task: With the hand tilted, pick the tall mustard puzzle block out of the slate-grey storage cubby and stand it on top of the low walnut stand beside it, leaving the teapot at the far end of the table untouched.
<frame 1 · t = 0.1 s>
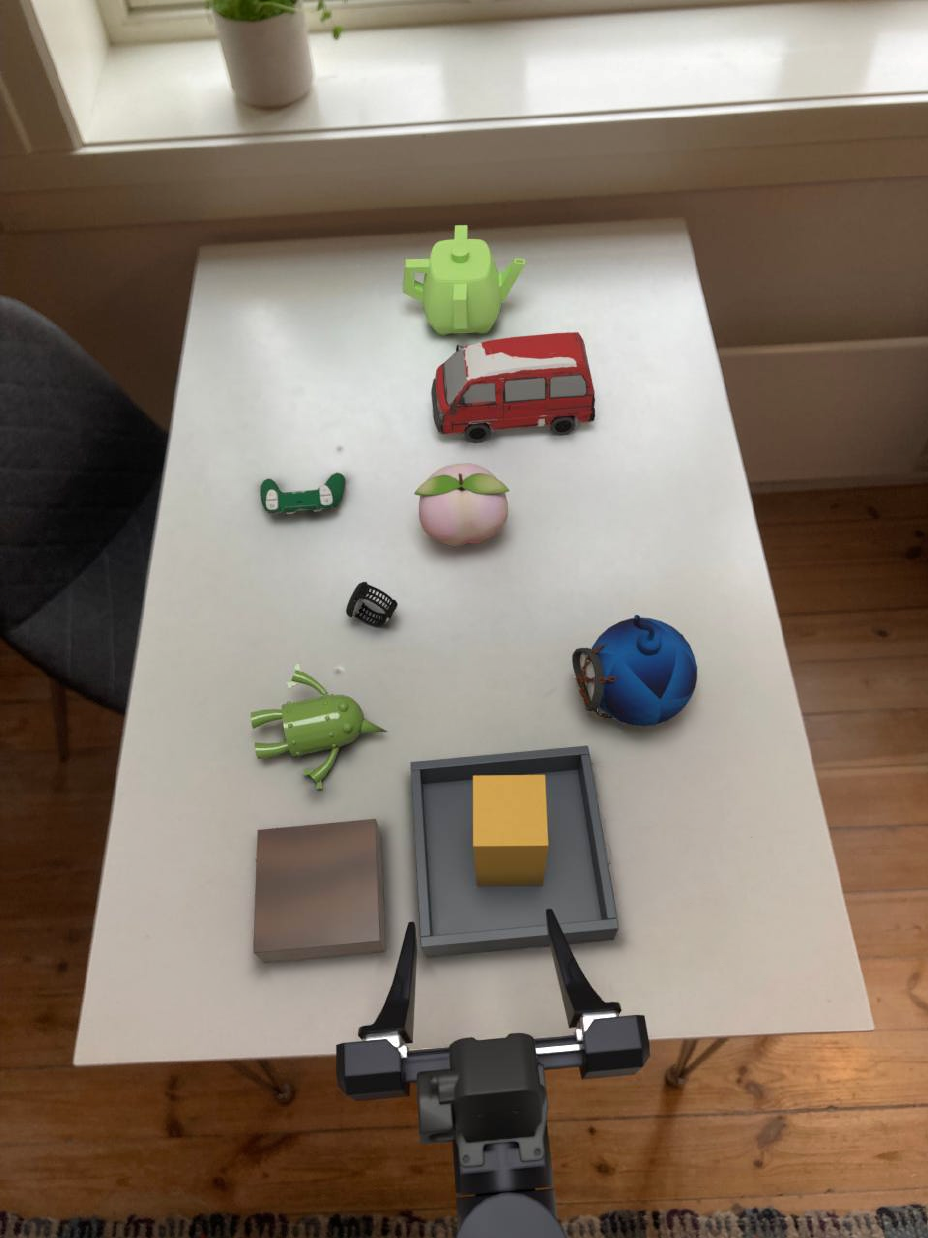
hand: (480, 916, 61), 16 cm above the table, tool horizontal, fingers open, 9 cm apart
decorative fruit: (463, 534, 97), on the table
toy car: (512, 418, 106), on the table
gaming controller: (305, 504, 100), on the table
bomb: (628, 698, 86), on the table
character figure: (324, 736, 85), on the table
cubby: (508, 855, 79), on the table
walnut stand: (324, 896, 77), on the table
puzzle block: (508, 853, 78), point 1 cm above the table, touching cubby
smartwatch: (373, 622, 92), on the table
teapot: (464, 317, 115), on the table
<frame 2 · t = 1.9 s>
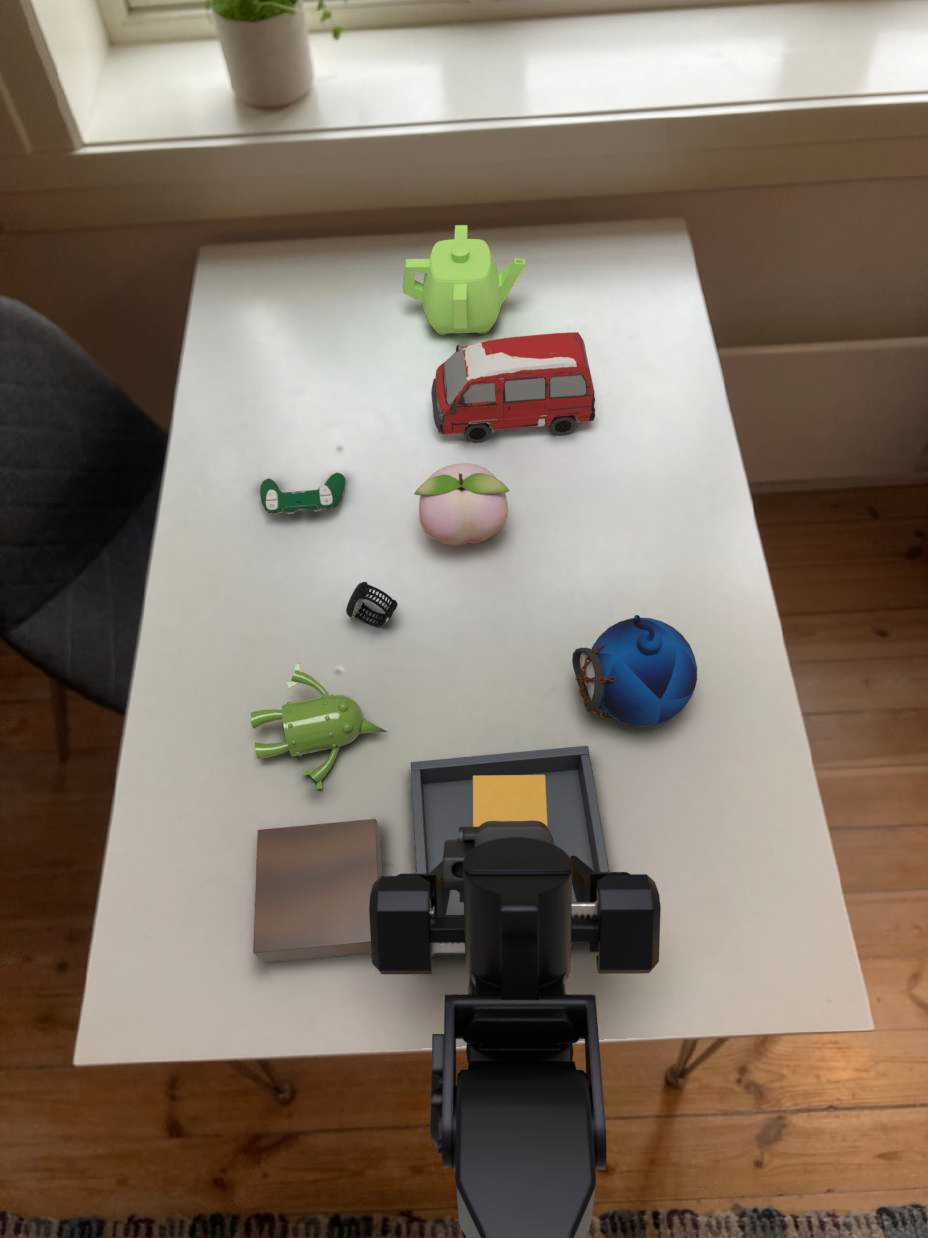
hand: (511, 861, 68), 10 cm above the table, tool tilted 45°, fingers open, 9 cm apart
nothing on the table moved.
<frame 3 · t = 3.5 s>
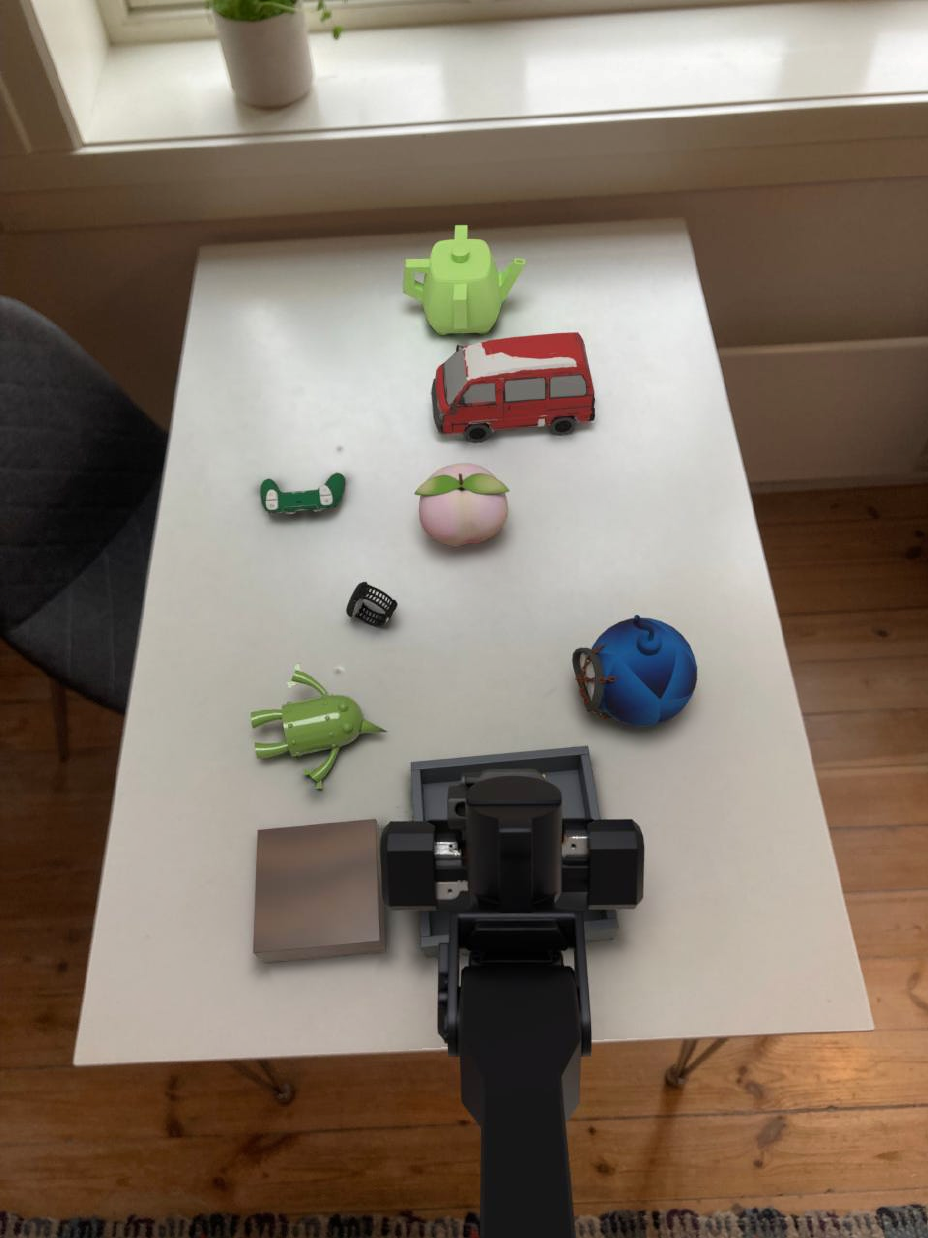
hand: (509, 814, 74), 7 cm above the table, tool tilted 45°, fingers closed on puzzle block, 5 cm apart
puzzle block: (508, 853, 78), point 1 cm above the table, touching cubby, gripper
everything else where it was.
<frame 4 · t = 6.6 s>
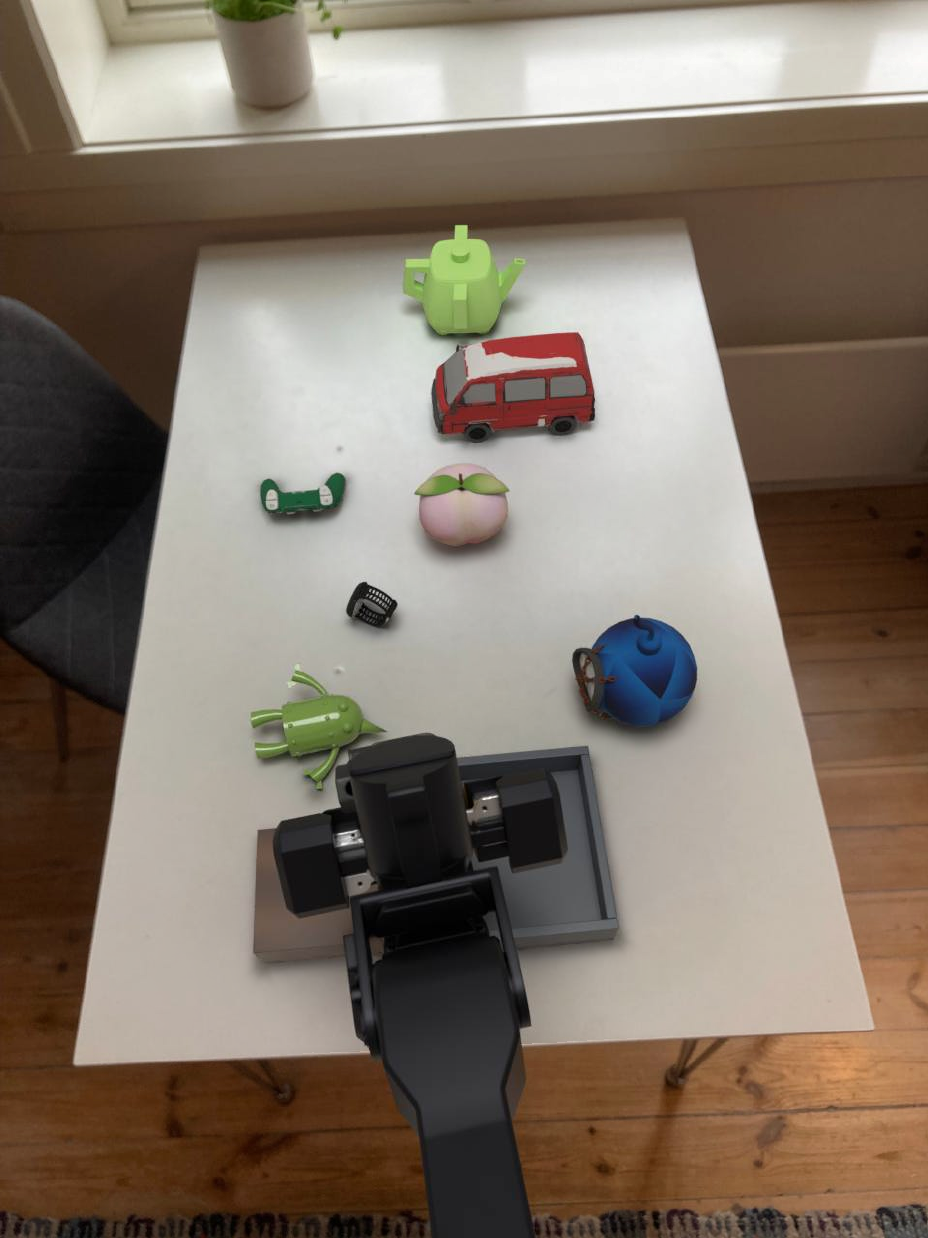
hand: (414, 792, 68), 13 cm above the table, tool tilted 45°, fingers closed on puzzle block, 5 cm apart
puzzle block: (424, 835, 72), point 7 cm above the table, touching gripper
everything else where it was.
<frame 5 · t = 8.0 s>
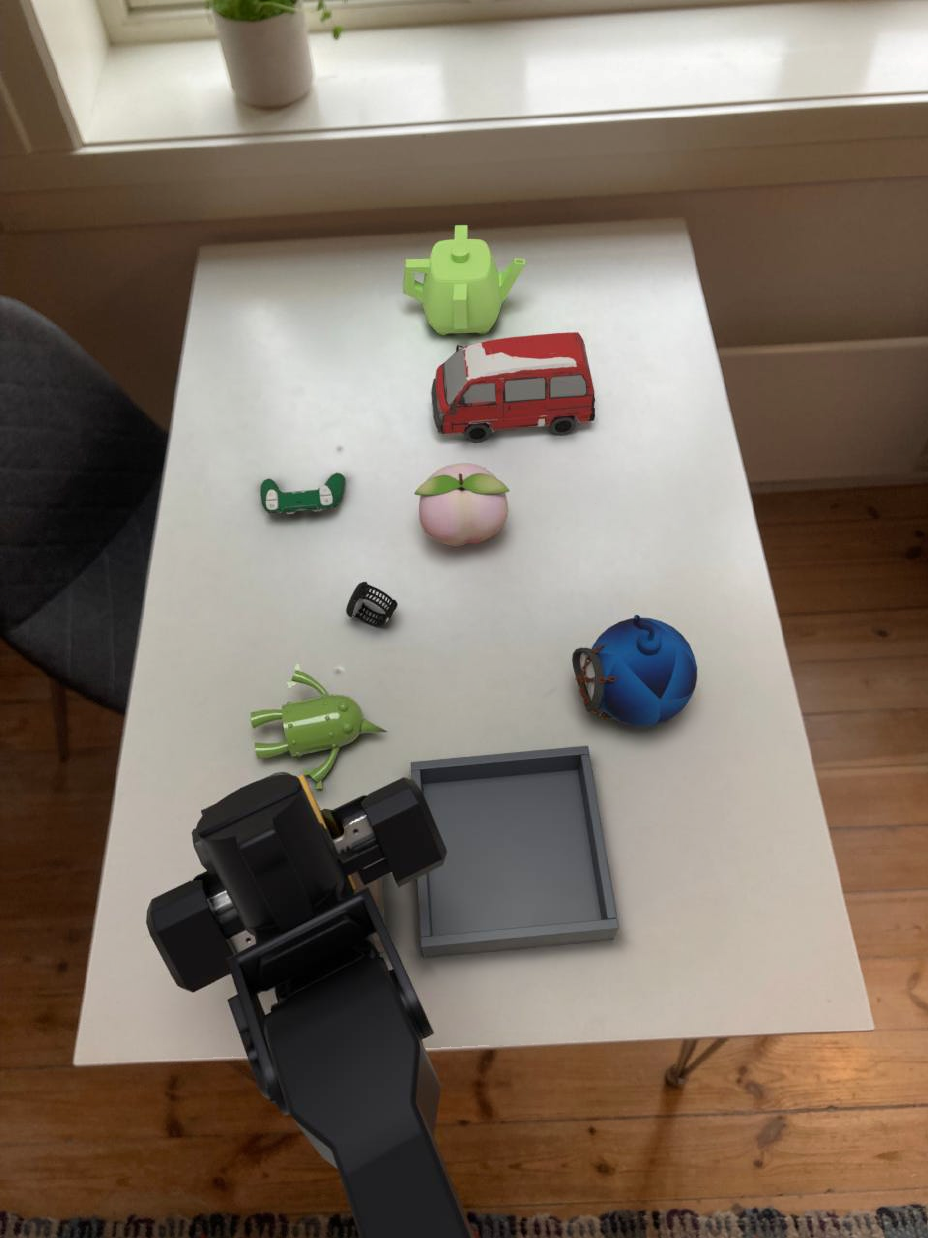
hand: (288, 833, 67), 13 cm above the table, tool tilted 45°, fingers closed on puzzle block, 5 cm apart
puzzle block: (309, 872, 71), point 7 cm above the table, touching gripper
everything else where it was.
when the fingers open (10 cm above the table, at t = 9.5 s): puzzle block stays where it is, resting on walnut stand.
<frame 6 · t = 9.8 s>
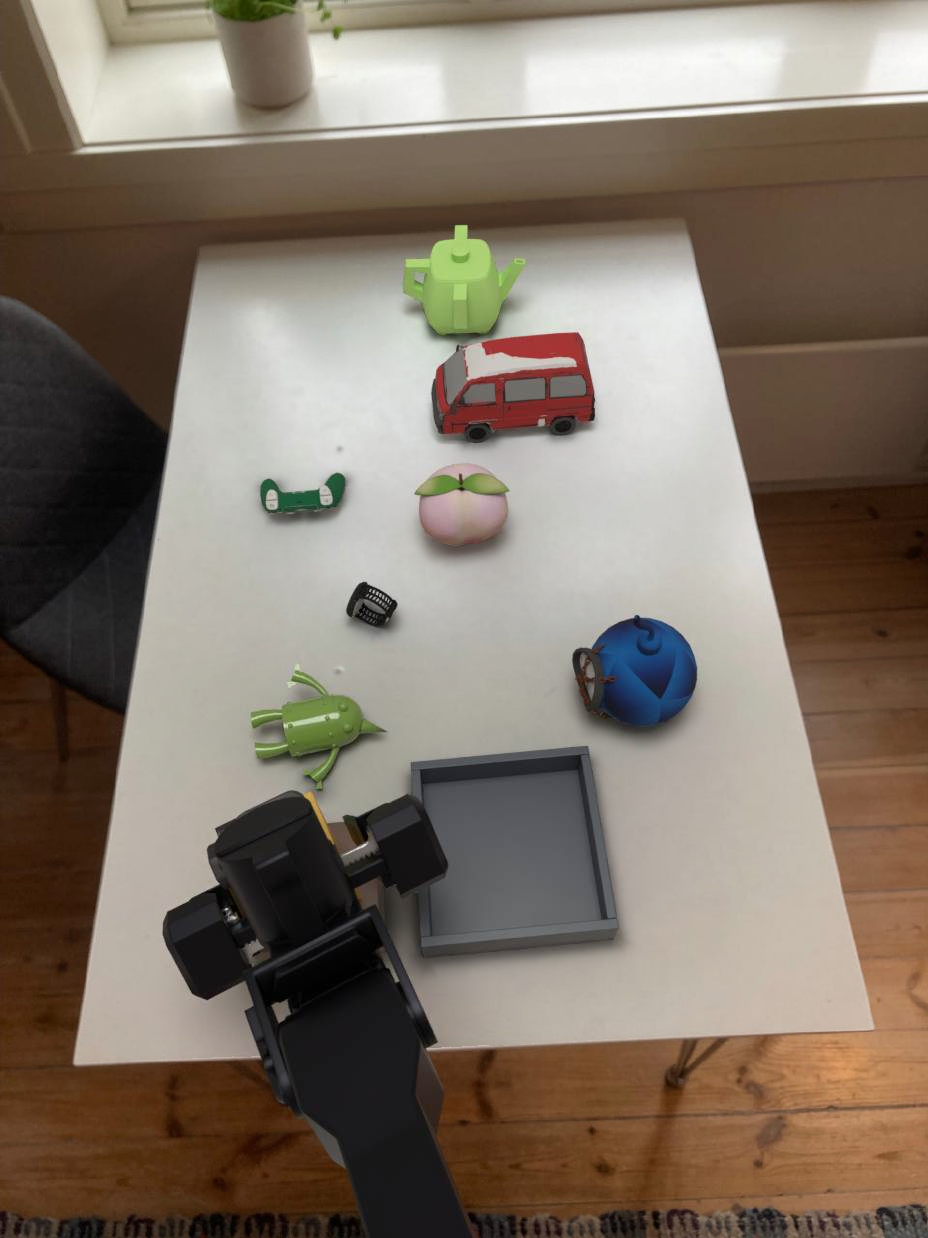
hand: (295, 845, 70), 10 cm above the table, tool tilted 45°, fingers open, 8 cm apart
puzzle block: (316, 883, 74), point 4 cm above the table, touching walnut stand
everything else where it was.
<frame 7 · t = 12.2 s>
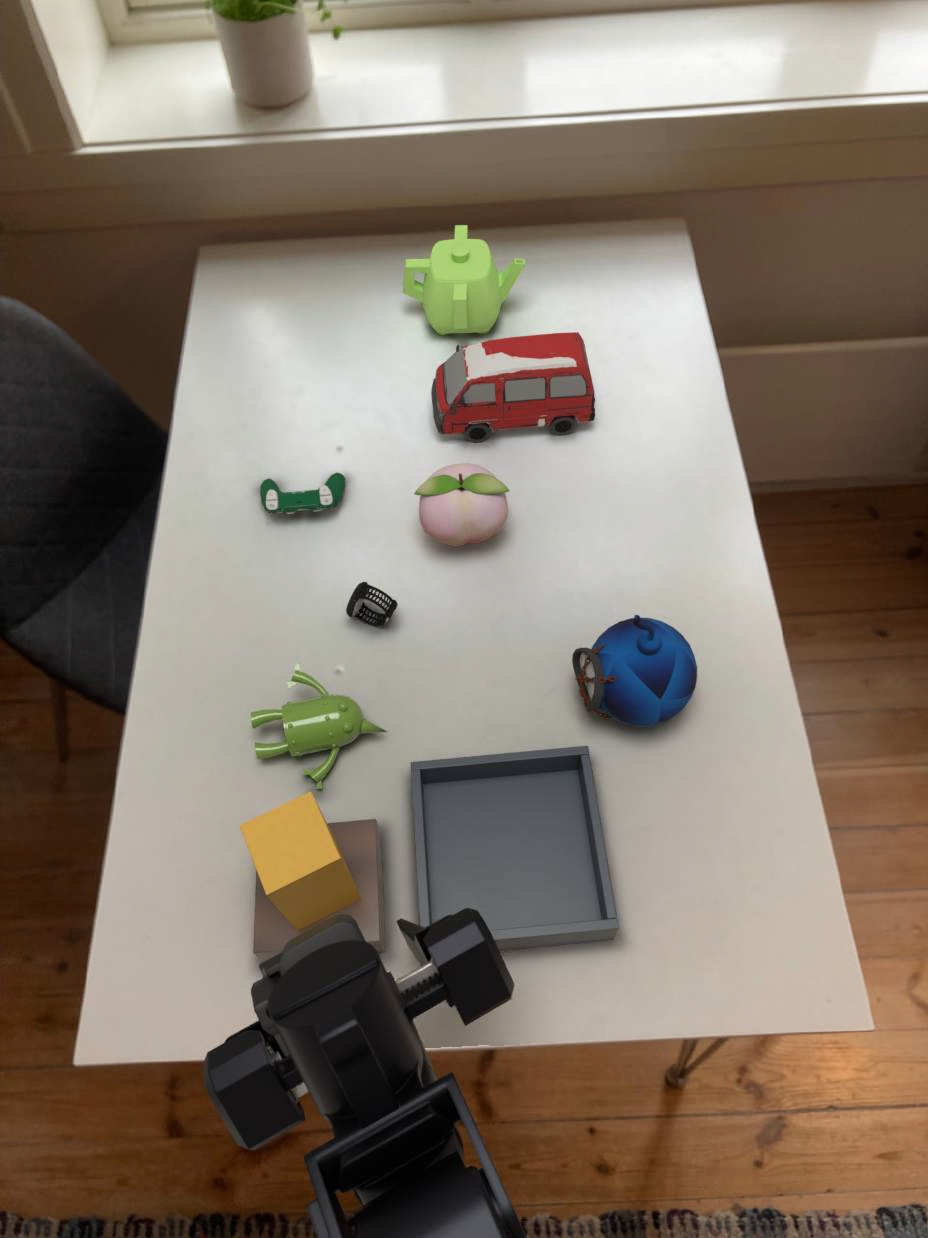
hand: (342, 957, 64), 12 cm above the table, tool tilted 45°, fingers open, 9 cm apart
nothing on the table moved.
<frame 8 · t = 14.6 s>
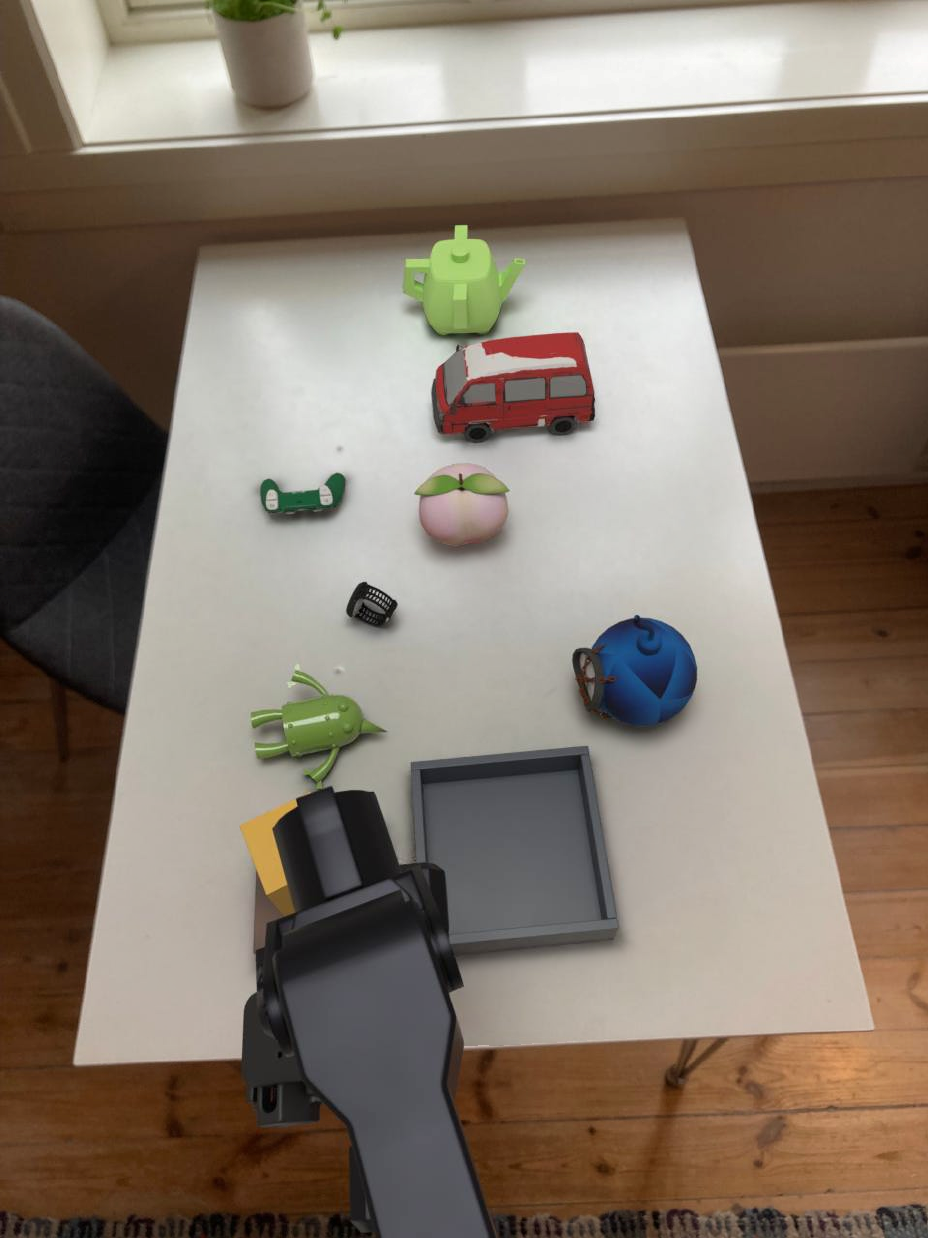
hand: (414, 1049, 59), 13 cm above the table, tool pointing down, fingers open, 9 cm apart
nothing on the table moved.
at the end: puzzle block inside the target area on the walnut stand (0.0 cm from its centre), point 4.0 cm above the walnut stand's base; puzzle block tilted 0°; teapot moved 0.2 cm from its start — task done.
